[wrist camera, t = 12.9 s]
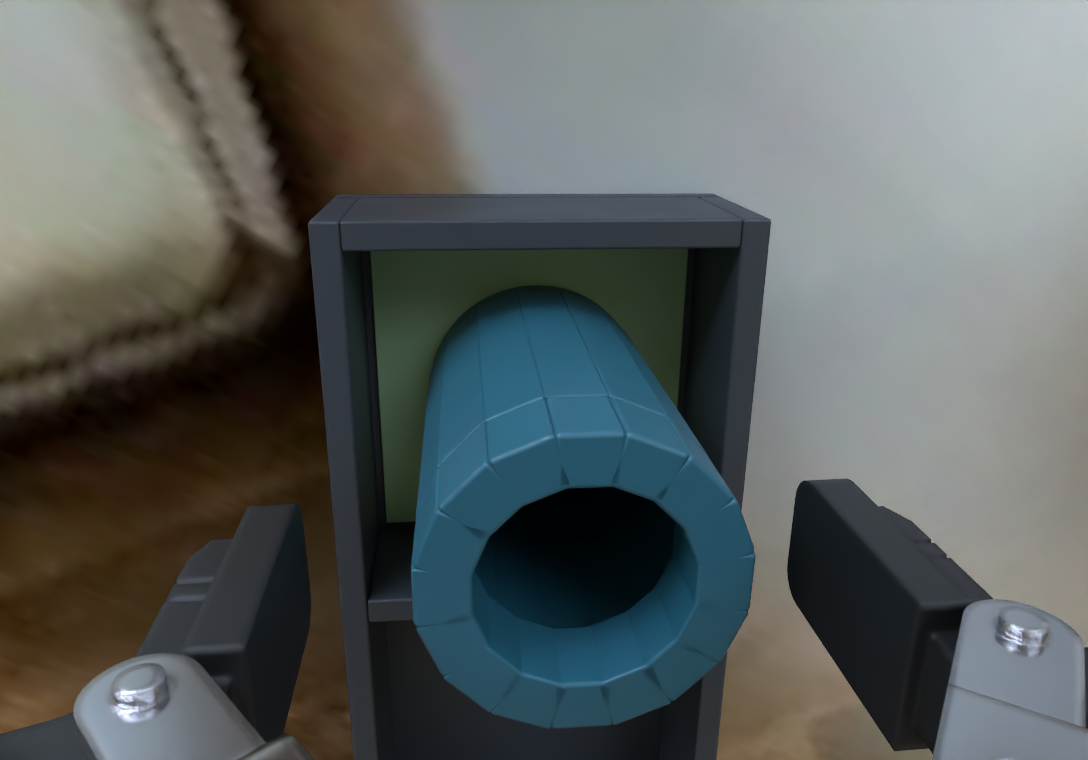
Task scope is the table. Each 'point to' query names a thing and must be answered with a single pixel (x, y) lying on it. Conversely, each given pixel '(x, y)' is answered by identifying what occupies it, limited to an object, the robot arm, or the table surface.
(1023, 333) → the table surface
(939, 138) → the table surface
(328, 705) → the table surface
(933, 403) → the table surface
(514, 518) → the jar
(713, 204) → the divided tray
